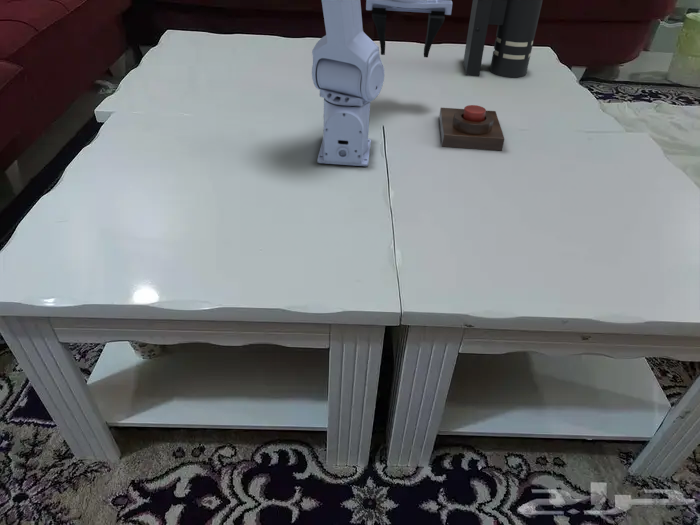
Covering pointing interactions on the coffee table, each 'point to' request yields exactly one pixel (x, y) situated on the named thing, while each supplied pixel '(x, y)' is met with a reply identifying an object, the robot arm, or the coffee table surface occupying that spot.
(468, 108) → the button
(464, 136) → the switch block
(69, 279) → the coffee table surface
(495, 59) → the light fixture
